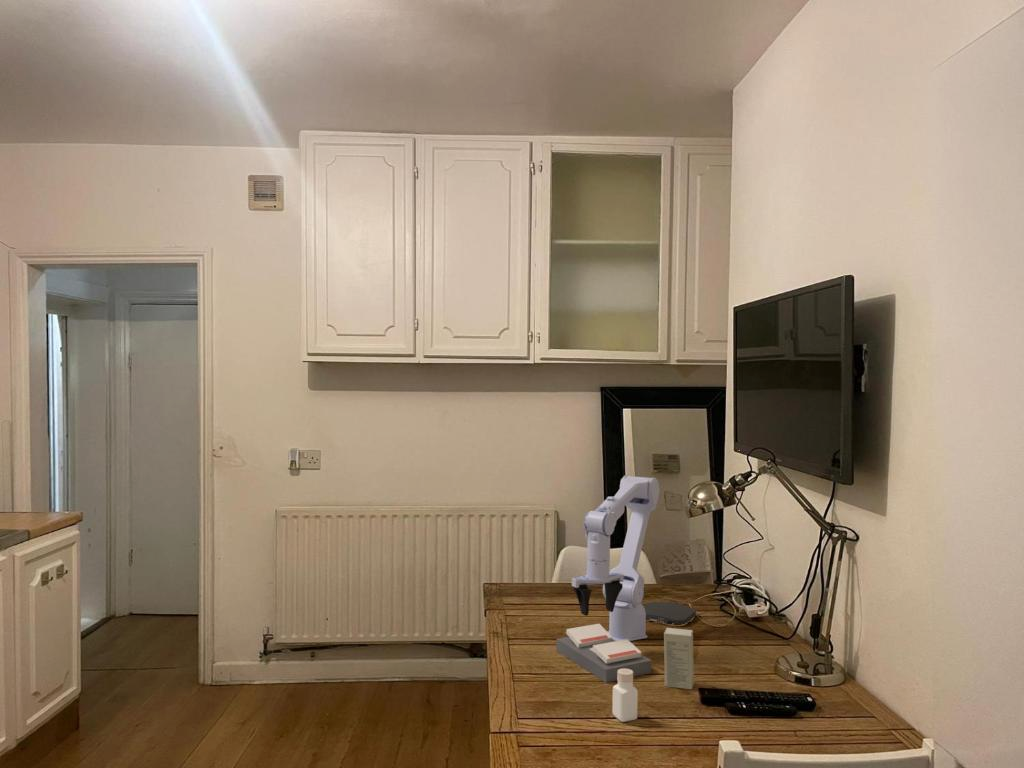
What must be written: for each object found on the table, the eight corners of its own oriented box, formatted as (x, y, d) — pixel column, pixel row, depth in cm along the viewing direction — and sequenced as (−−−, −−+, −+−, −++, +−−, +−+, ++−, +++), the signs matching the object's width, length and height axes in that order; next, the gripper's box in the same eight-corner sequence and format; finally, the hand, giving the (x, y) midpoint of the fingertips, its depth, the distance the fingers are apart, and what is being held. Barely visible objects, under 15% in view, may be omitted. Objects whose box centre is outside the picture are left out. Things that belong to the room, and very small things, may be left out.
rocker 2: (626, 643, 178) (626, 639, 178) (640, 656, 173) (641, 652, 173) (592, 650, 174) (592, 645, 173) (606, 663, 168) (607, 659, 168)
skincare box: (693, 683, 167) (694, 629, 167) (692, 690, 162) (692, 636, 162) (665, 678, 169) (666, 626, 169) (663, 686, 165) (663, 632, 165)
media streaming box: (699, 616, 216) (699, 606, 216) (682, 630, 203) (683, 619, 203) (653, 607, 224) (653, 597, 224) (634, 620, 211) (634, 610, 211)
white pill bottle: (621, 723, 146) (622, 676, 146) (611, 715, 150) (611, 669, 150) (638, 720, 148) (639, 673, 148) (627, 711, 151) (628, 666, 151)
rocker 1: (598, 627, 189) (599, 623, 189) (611, 641, 184) (612, 637, 183) (566, 633, 184) (566, 629, 184) (578, 647, 179) (578, 643, 179)
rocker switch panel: (598, 642, 191) (598, 630, 191) (651, 672, 172) (651, 659, 172) (556, 650, 185) (556, 638, 185) (605, 682, 166) (606, 668, 166)
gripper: (612, 553, 191) (611, 604, 191) (565, 557, 184) (564, 611, 184) (628, 558, 185) (627, 612, 184) (580, 564, 178) (579, 619, 178)
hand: (597, 612), depth 184 cm, fingers open, 7 cm apart
